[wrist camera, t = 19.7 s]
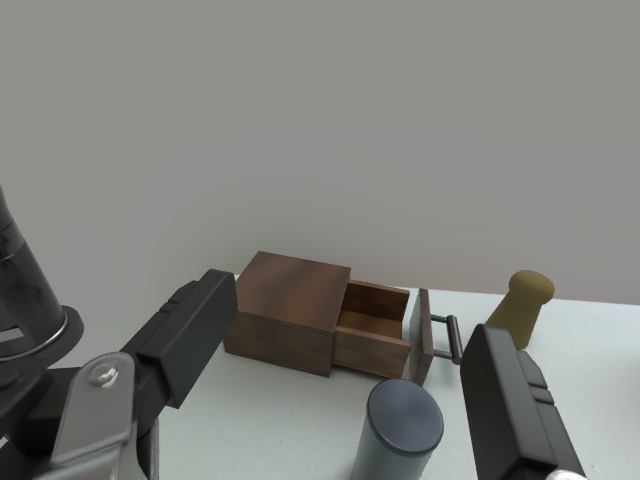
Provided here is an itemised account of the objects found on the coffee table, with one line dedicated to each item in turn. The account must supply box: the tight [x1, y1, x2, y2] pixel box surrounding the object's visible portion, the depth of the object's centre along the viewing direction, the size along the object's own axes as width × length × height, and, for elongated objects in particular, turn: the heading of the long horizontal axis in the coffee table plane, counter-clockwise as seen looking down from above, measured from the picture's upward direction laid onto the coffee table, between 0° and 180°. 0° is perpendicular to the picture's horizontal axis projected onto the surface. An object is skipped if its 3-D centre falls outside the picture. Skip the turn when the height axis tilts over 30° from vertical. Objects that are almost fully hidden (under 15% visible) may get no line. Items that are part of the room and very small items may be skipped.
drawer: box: [331, 279, 463, 387], centre depth 41 cm, size 18×11×7 cm, turn 76°
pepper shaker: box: [485, 270, 555, 350], centre depth 44 cm, size 6×6×11 cm
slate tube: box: [351, 379, 444, 480], centre depth 26 cm, size 6×6×13 cm
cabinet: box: [223, 251, 351, 378], centre depth 43 cm, size 15×13×9 cm
